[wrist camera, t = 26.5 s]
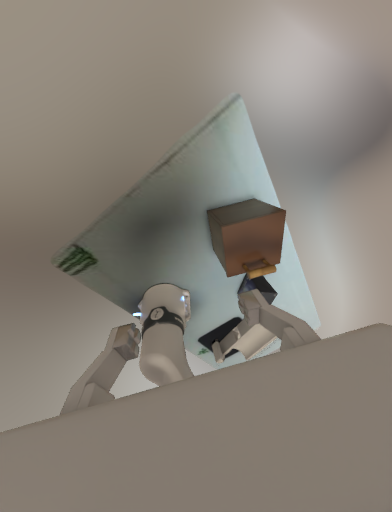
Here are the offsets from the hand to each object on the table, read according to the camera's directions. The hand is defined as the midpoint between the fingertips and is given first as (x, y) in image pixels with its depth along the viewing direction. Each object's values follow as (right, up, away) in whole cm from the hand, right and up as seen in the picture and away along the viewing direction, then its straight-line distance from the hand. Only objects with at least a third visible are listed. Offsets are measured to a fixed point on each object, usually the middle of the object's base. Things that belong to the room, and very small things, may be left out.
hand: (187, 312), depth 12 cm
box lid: (+14, +7, +23) cm, 28 cm away
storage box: (+11, +13, +33) cm, 38 cm away
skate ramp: (+24, -33, +64) cm, 76 cm away
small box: (+21, -6, +47) cm, 52 cm away
